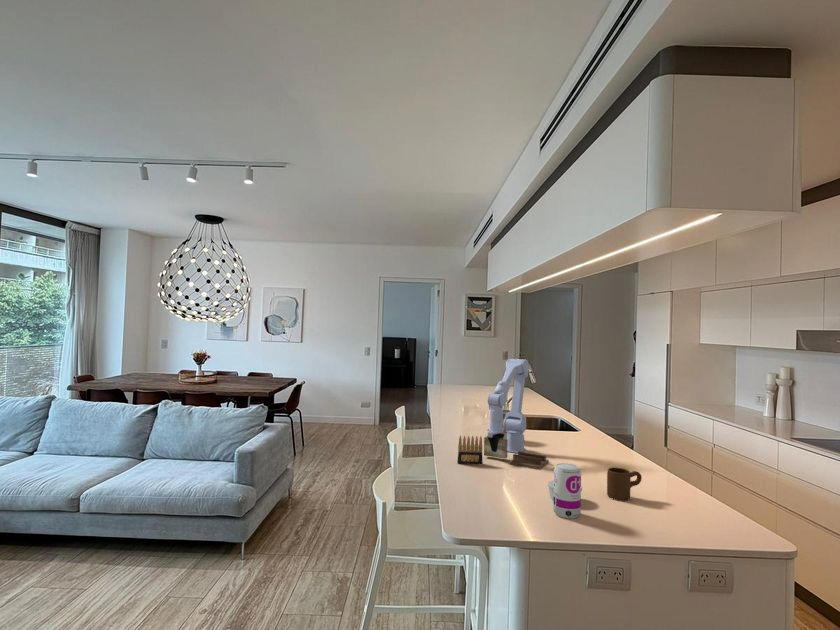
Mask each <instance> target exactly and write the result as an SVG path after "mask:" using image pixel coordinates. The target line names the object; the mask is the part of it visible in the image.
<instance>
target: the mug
mask: <svg viewBox="0 0 840 630" xmlns="http://www.w3.org/2000/svg"><path fill="white" fill-rule="evenodd" d="M606 474H607V475H606V495H607V497H608V498H609V499H611V498H613V499H612V500H614V499H617V500H616V501H620V500H626V501H629V500H630V498H631V488H633V487H635V486H638V485H639V484H640V483H641V482H642V479H643V478H642V477H643V476H642V474H641V473H640V472H639V471H637V470H636V471H635V470H632V471H630V470H628V469H625V468H621V467H609V468H607V473H606ZM634 477H636V479H635V480H631V478H634ZM628 499H629V500H628Z"/></svg>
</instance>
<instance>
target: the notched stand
mask: <svg viewBox="0 0 840 630" xmlns="http://www.w3.org/2000/svg"><path fill="white" fill-rule="evenodd" d="M549 462H550V460H549V459H547V455H545V454H542V453H541V454H539V453H533V452H528V451H523V452H522V451H519V452H518V453H514V454H513V455H512V460H510V461H509V465H511V466H516V465H517V467H523V468H527V467H528V469H533V468H534V470H541V468H543V467H544V466H546V465H547V464H549ZM545 464H546V465H545Z"/></svg>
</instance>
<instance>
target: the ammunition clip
mask: <svg viewBox="0 0 840 630" xmlns="http://www.w3.org/2000/svg"><path fill="white" fill-rule="evenodd" d="M470 439H471V440H470ZM457 446H458V447H457V465H479V464H482V465H483V463H484V462H483V438H482V435H480V436H479V438H478V435H476V437H475V439H474V435H472V436H471V438H470V435H468V436H467V439H466V436H465V435H463V438H462V435H459V438H458V445H457Z"/></svg>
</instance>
